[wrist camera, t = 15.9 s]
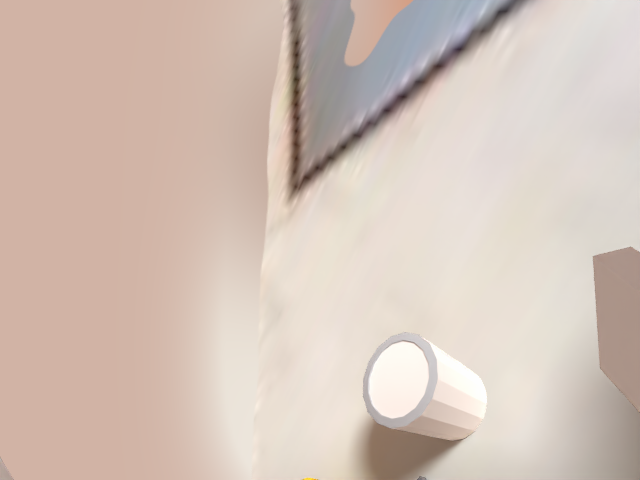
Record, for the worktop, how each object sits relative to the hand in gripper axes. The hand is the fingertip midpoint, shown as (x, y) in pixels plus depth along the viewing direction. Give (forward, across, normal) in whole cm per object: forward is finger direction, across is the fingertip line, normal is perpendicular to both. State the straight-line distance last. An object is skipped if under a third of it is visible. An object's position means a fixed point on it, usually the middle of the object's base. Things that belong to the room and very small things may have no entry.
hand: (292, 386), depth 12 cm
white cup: (+25, +7, -23) cm, 35 cm away
